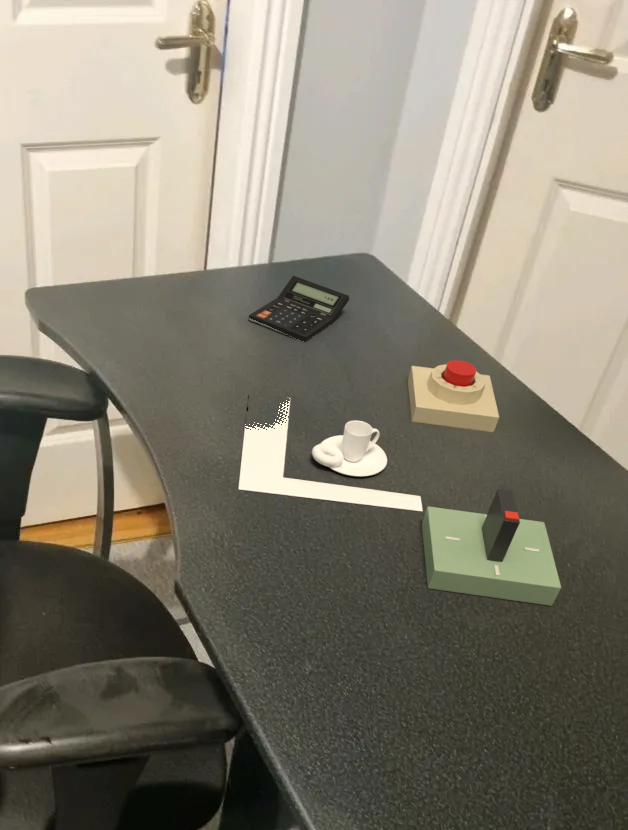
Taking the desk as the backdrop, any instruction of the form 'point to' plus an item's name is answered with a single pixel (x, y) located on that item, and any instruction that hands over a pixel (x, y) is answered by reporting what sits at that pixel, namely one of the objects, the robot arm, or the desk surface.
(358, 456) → the teacup and saucer
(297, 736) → the desk surface
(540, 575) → the panel
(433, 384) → the button base
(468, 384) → the button
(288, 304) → the calculator
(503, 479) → the desk surface
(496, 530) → the knob
